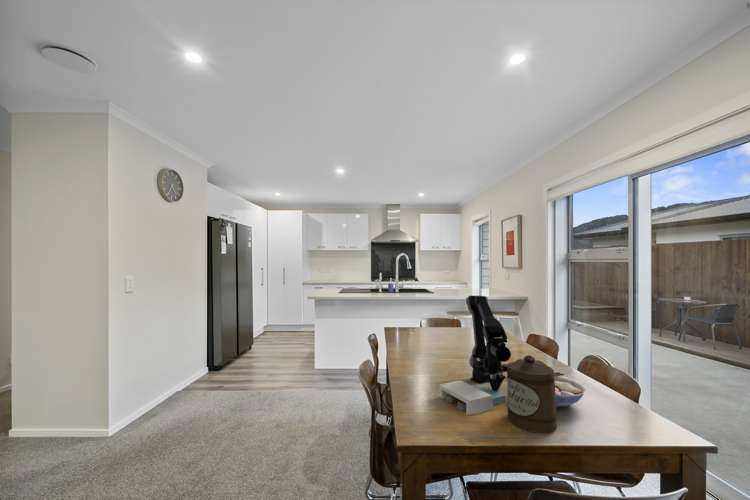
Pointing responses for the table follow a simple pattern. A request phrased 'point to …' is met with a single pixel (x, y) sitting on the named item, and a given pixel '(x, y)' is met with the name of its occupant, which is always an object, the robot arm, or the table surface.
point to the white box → (466, 397)
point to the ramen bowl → (567, 390)
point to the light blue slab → (493, 395)
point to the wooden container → (531, 396)
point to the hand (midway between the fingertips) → (494, 393)
